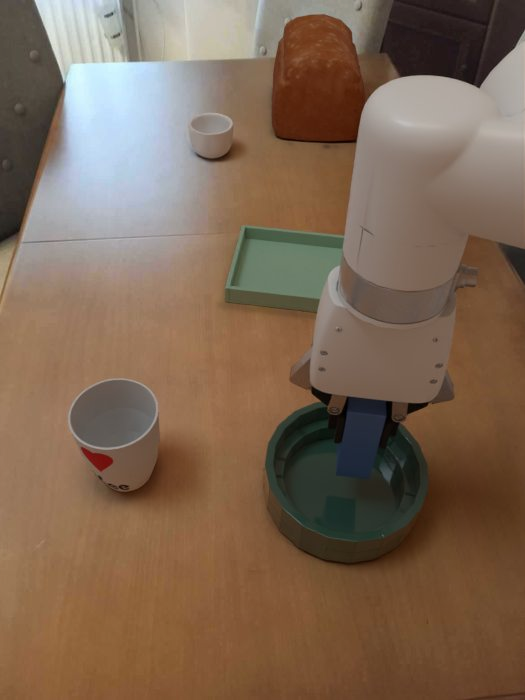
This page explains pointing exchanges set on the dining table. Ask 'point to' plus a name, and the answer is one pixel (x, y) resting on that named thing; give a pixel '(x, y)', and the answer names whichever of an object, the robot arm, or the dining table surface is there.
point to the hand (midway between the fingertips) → (360, 431)
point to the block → (360, 437)
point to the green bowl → (341, 490)
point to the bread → (317, 81)
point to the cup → (117, 431)
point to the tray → (282, 267)
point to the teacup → (211, 134)
